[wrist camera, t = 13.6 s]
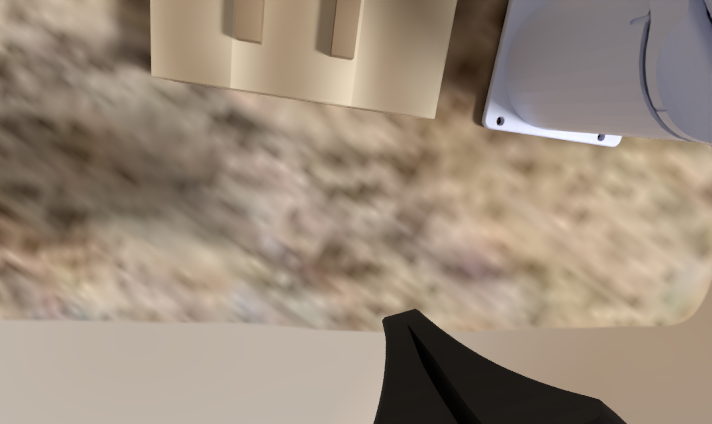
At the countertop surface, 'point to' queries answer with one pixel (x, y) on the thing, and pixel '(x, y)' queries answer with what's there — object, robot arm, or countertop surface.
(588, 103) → the robot arm
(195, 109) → the countertop surface
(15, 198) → the countertop surface
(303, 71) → the dock plate
